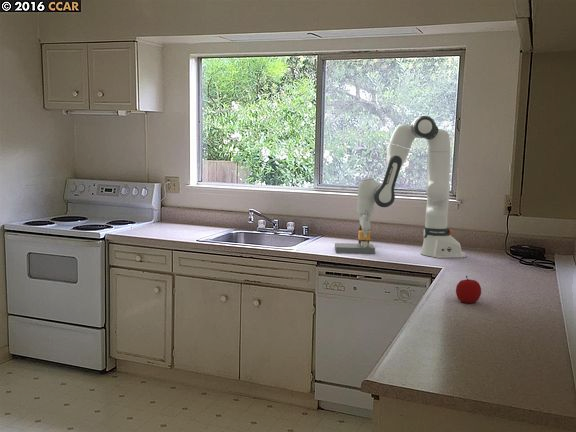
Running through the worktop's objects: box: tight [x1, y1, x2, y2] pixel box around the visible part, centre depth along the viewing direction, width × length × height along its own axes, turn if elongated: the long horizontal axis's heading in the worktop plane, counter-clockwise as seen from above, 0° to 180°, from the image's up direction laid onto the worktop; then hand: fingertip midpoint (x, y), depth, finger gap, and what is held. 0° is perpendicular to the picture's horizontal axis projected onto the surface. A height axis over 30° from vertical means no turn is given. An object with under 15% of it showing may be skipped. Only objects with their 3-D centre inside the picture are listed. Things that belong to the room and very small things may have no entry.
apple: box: [455, 275, 482, 304], centre depth 231 cm, size 9×9×10 cm
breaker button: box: [361, 241, 368, 246], centre depth 323 cm, size 3×3×5 cm
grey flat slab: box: [334, 242, 376, 255], centre depth 323 cm, size 20×12×4 cm, turn 88°
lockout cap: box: [357, 229, 371, 241], centre depth 322 cm, size 6×6×4 cm
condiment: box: [357, 224, 371, 244], centre depth 341 cm, size 7×8×12 cm
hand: (364, 235), depth 322 cm, fingers closed on lockout cap, 6 cm apart
